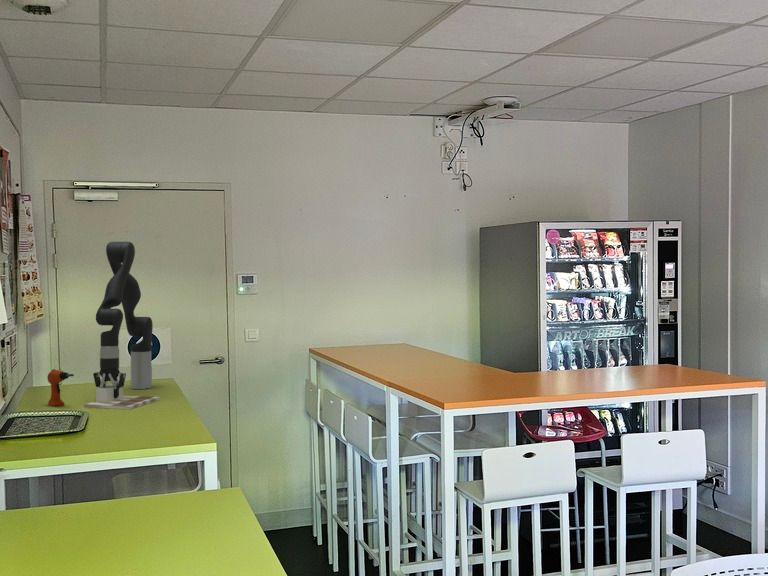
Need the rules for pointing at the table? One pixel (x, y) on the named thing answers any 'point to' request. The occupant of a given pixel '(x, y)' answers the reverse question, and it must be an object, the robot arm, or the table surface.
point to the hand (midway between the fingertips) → (109, 397)
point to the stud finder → (107, 394)
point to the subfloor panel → (123, 402)
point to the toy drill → (56, 386)
